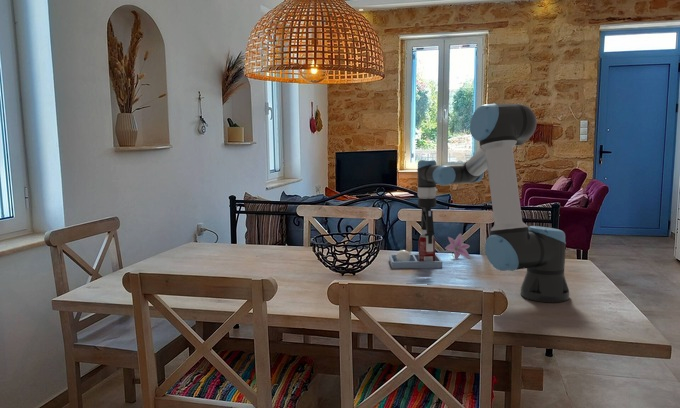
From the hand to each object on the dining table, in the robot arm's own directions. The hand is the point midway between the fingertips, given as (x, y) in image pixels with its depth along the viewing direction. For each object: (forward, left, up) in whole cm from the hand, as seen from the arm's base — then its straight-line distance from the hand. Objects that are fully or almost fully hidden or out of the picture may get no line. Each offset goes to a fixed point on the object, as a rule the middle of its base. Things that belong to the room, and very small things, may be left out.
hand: (427, 248), depth 219 cm
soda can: (0, 0, -7) cm, 7 cm away
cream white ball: (0, +10, -7) cm, 12 cm away
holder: (0, +5, -7) cm, 9 cm away
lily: (+13, -15, -7) cm, 22 cm away
